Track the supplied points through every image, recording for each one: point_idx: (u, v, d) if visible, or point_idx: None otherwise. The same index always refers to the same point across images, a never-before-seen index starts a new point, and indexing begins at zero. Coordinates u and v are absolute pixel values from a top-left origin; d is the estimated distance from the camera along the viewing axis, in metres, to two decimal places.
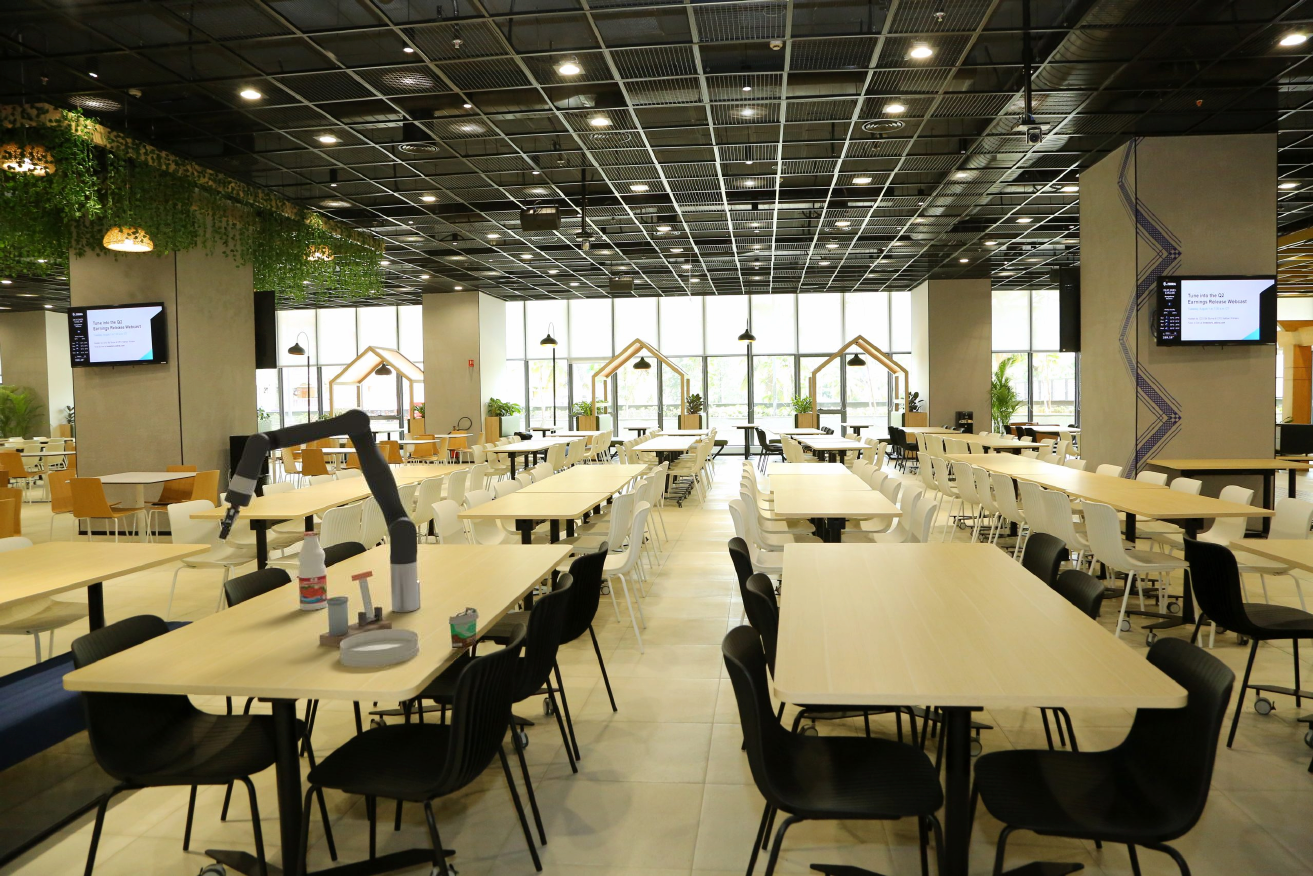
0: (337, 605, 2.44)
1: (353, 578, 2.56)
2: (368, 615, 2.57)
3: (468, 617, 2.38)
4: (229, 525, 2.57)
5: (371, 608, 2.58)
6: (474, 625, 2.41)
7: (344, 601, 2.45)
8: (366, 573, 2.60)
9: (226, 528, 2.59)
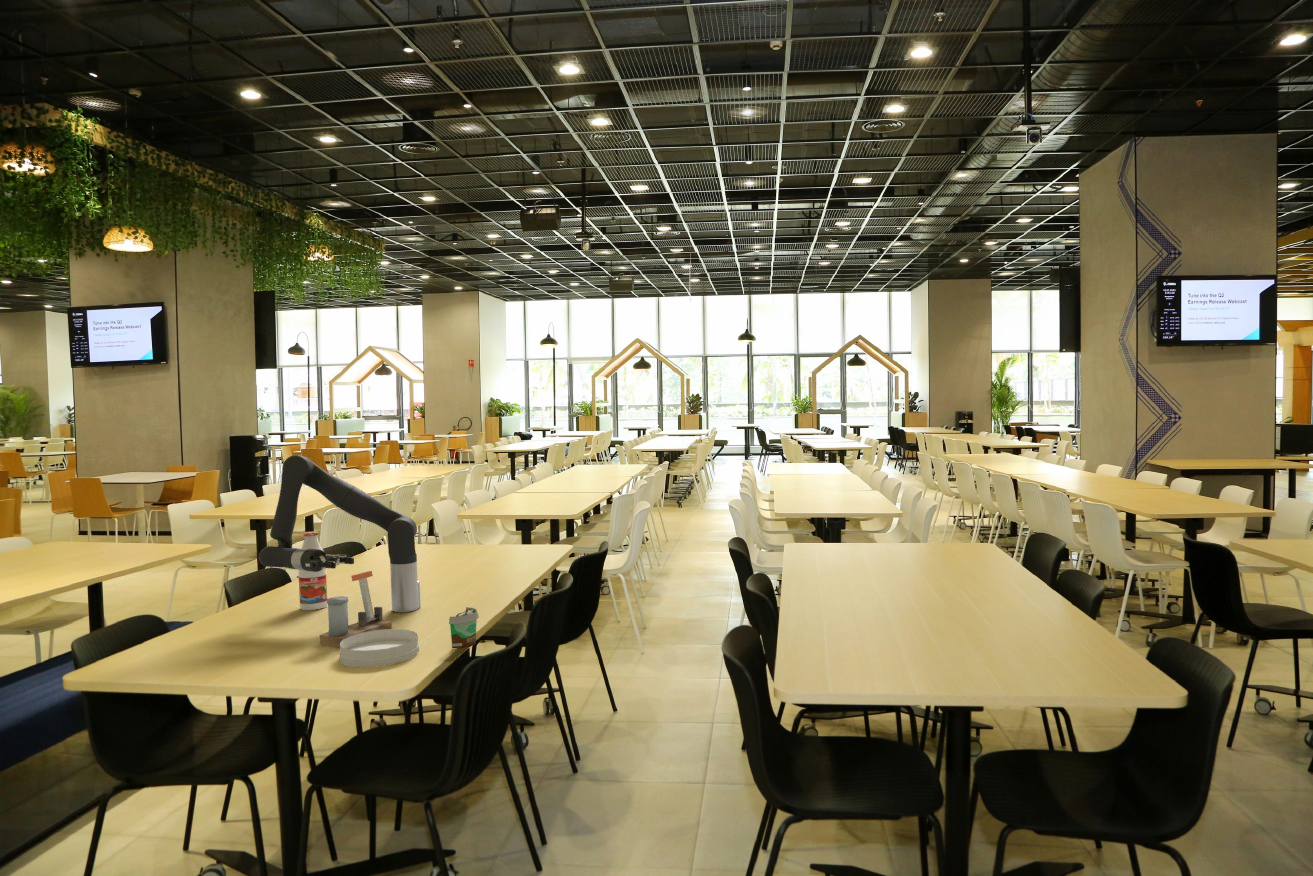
0: (337, 605, 2.44)
1: (353, 578, 2.56)
2: (368, 615, 2.57)
3: (468, 617, 2.38)
4: (316, 563, 2.58)
5: (371, 608, 2.58)
6: (474, 625, 2.41)
7: (344, 601, 2.45)
8: (366, 573, 2.60)
9: (323, 564, 2.59)
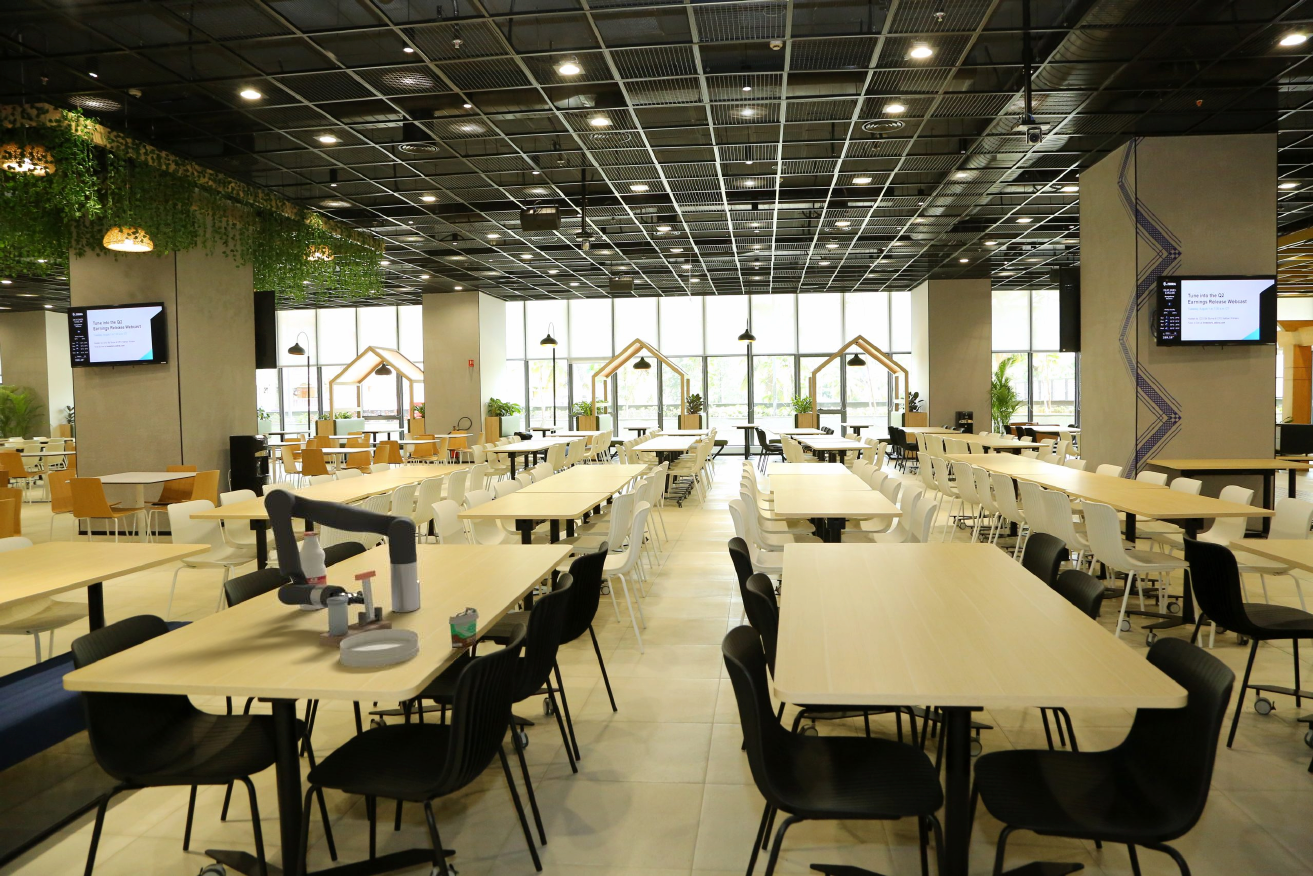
0: (337, 605, 2.43)
1: (356, 578, 2.55)
2: (368, 615, 2.57)
3: (468, 617, 2.38)
4: None
5: (372, 608, 2.58)
6: (474, 625, 2.41)
7: (344, 601, 2.45)
8: (369, 573, 2.59)
9: (354, 600, 2.59)
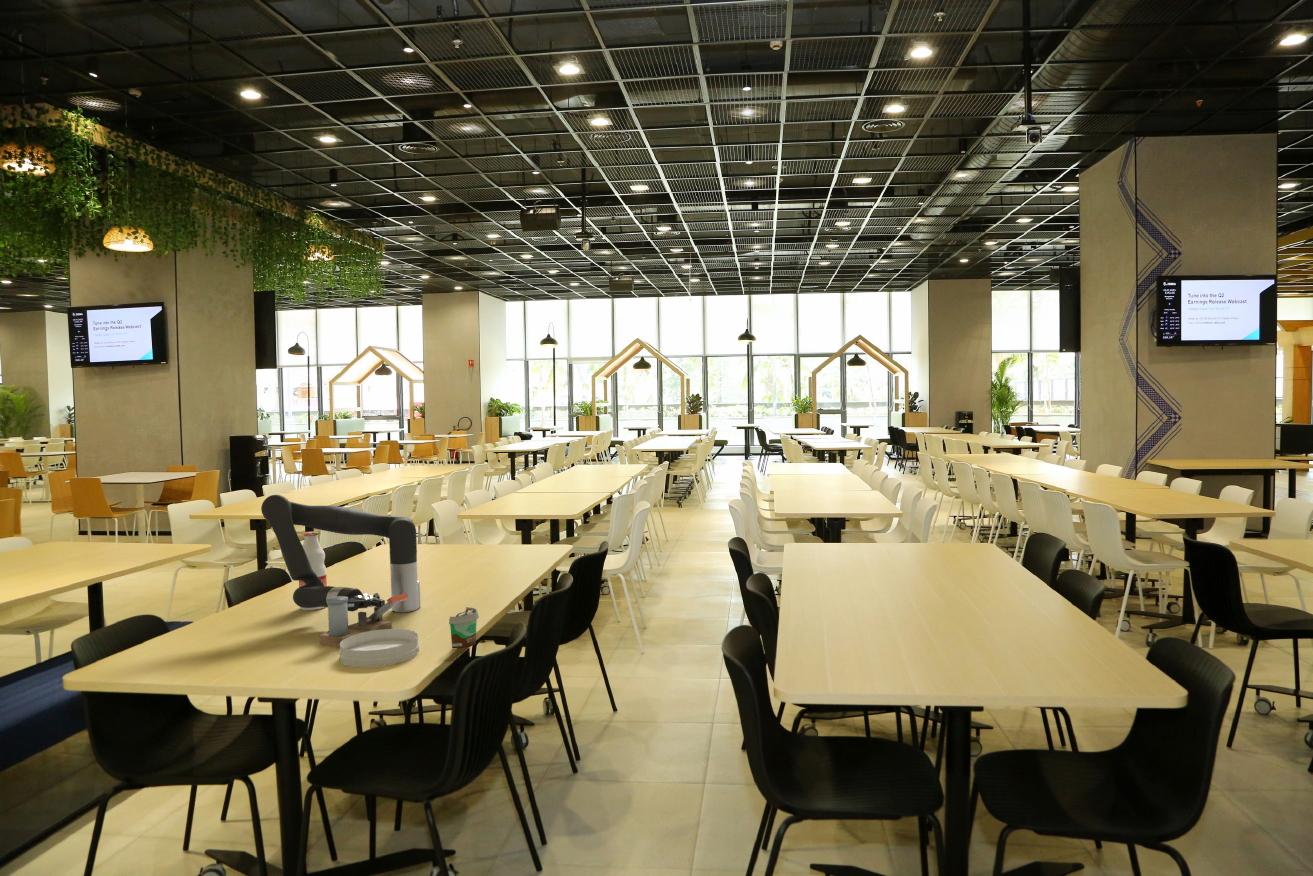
0: (337, 605, 2.44)
1: (389, 601, 2.49)
2: (371, 619, 2.57)
3: (468, 617, 2.38)
4: (363, 602, 2.54)
5: (379, 616, 2.57)
6: (474, 625, 2.41)
7: (344, 601, 2.45)
8: (402, 599, 2.53)
9: (370, 603, 2.55)
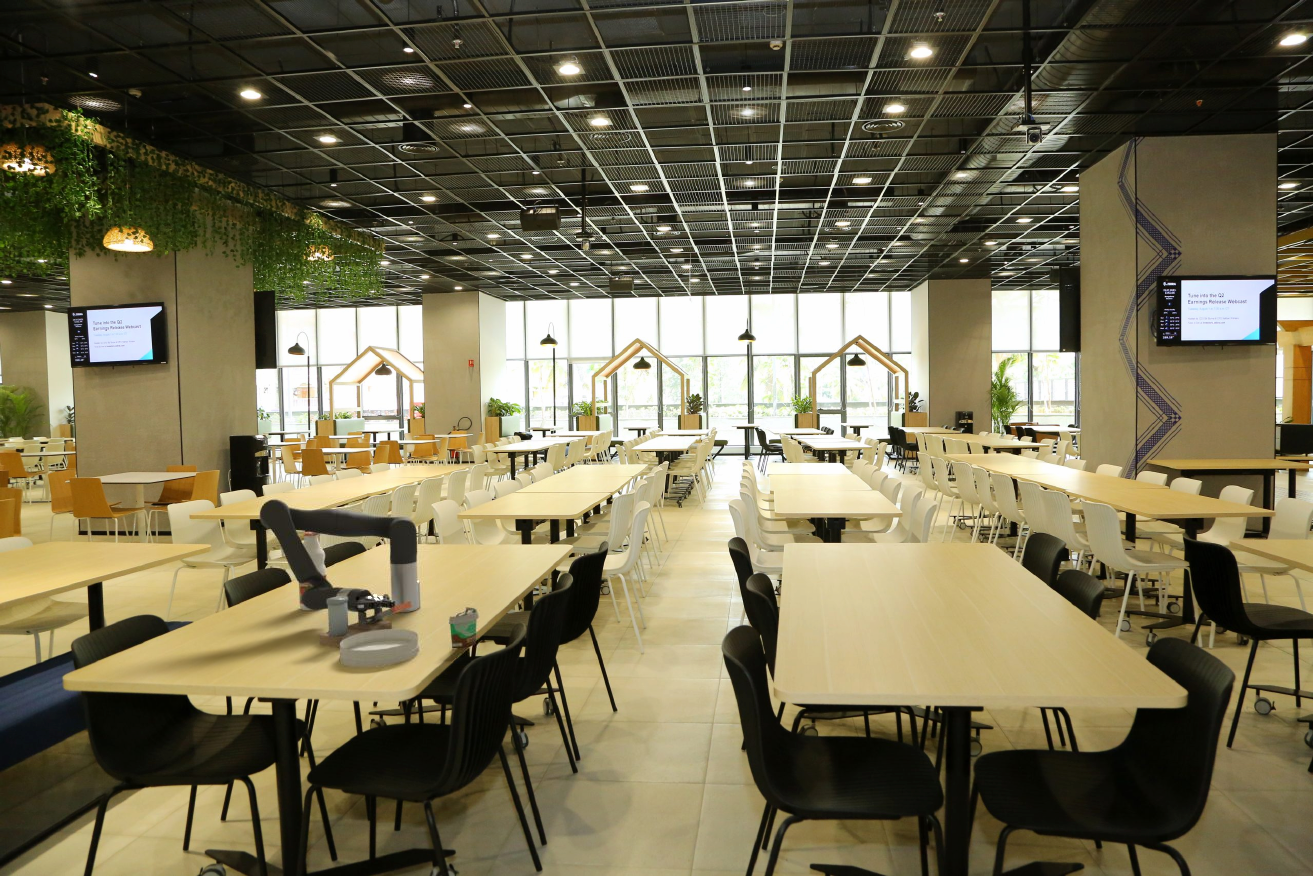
0: (337, 605, 2.43)
1: (392, 609, 2.49)
2: (372, 620, 2.57)
3: (468, 617, 2.38)
4: (373, 603, 2.53)
5: None
6: (474, 625, 2.41)
7: (344, 601, 2.45)
8: (405, 608, 2.53)
9: (381, 604, 2.54)
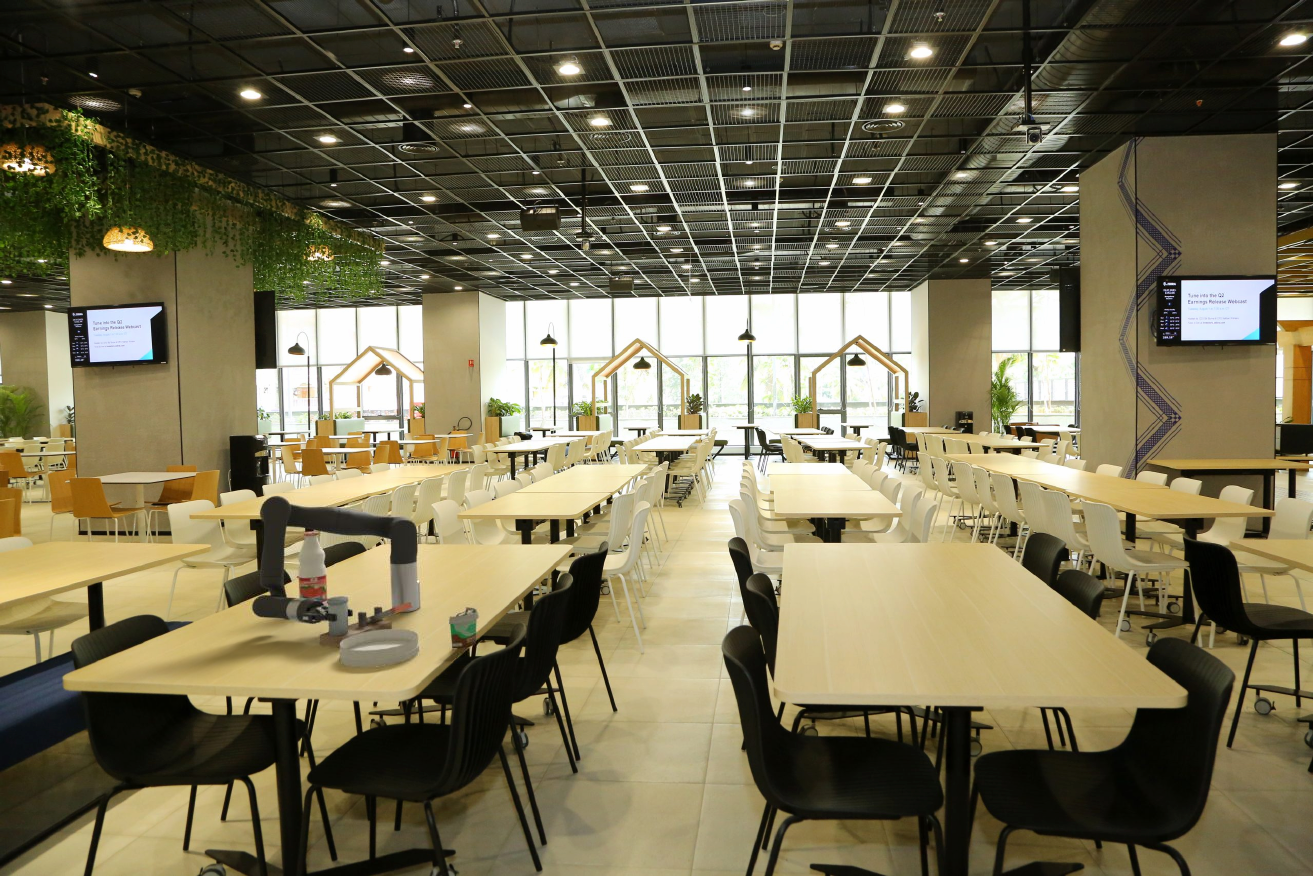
0: (337, 605, 2.43)
1: (393, 610, 2.49)
2: (372, 620, 2.57)
3: (468, 617, 2.38)
4: (316, 616, 2.42)
5: None
6: (474, 625, 2.41)
7: (344, 601, 2.45)
8: None
9: (324, 617, 2.43)
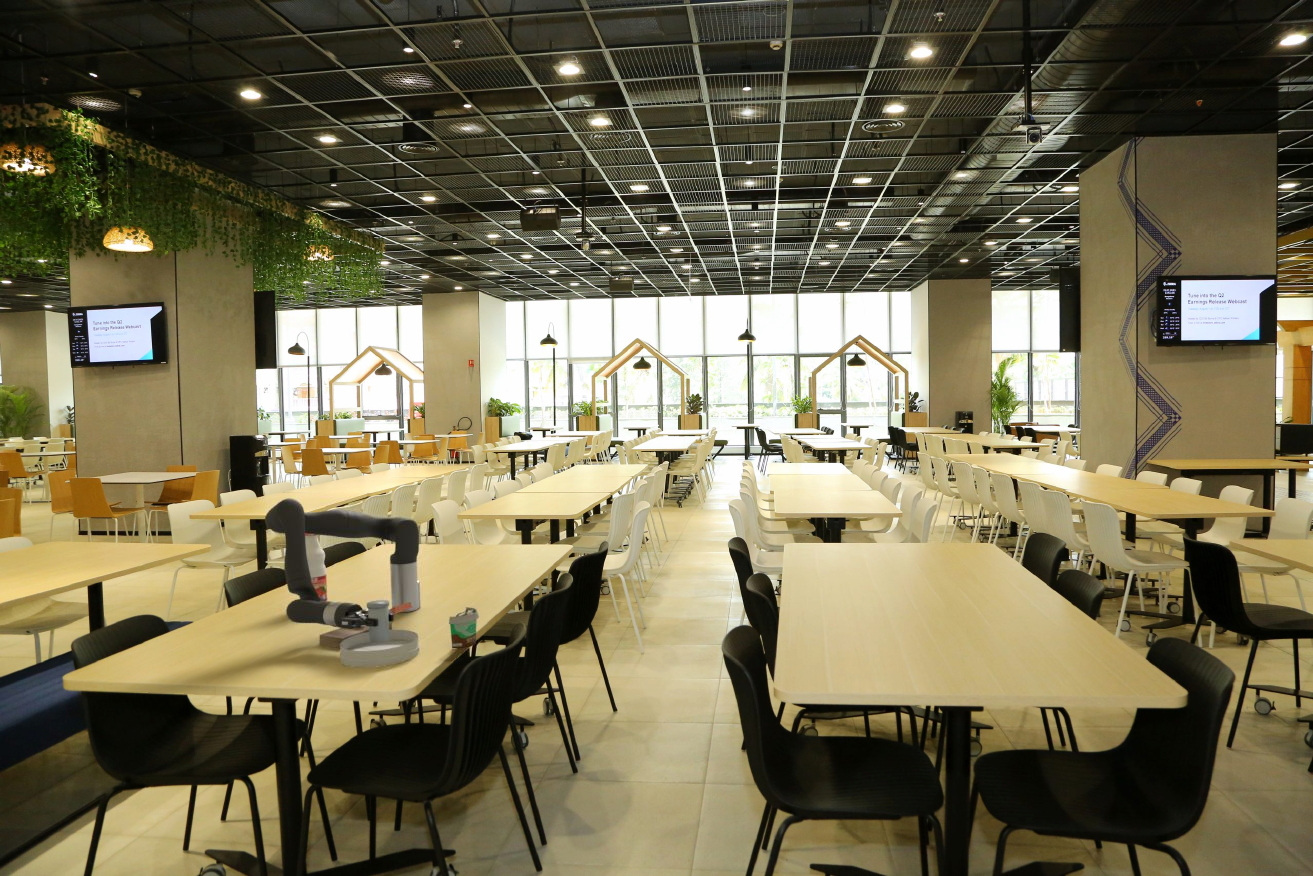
0: (378, 609, 2.31)
1: (393, 610, 2.49)
2: None
3: (468, 617, 2.38)
4: (356, 621, 2.29)
5: None
6: (474, 625, 2.41)
7: (385, 605, 2.32)
8: None
9: (364, 622, 2.30)
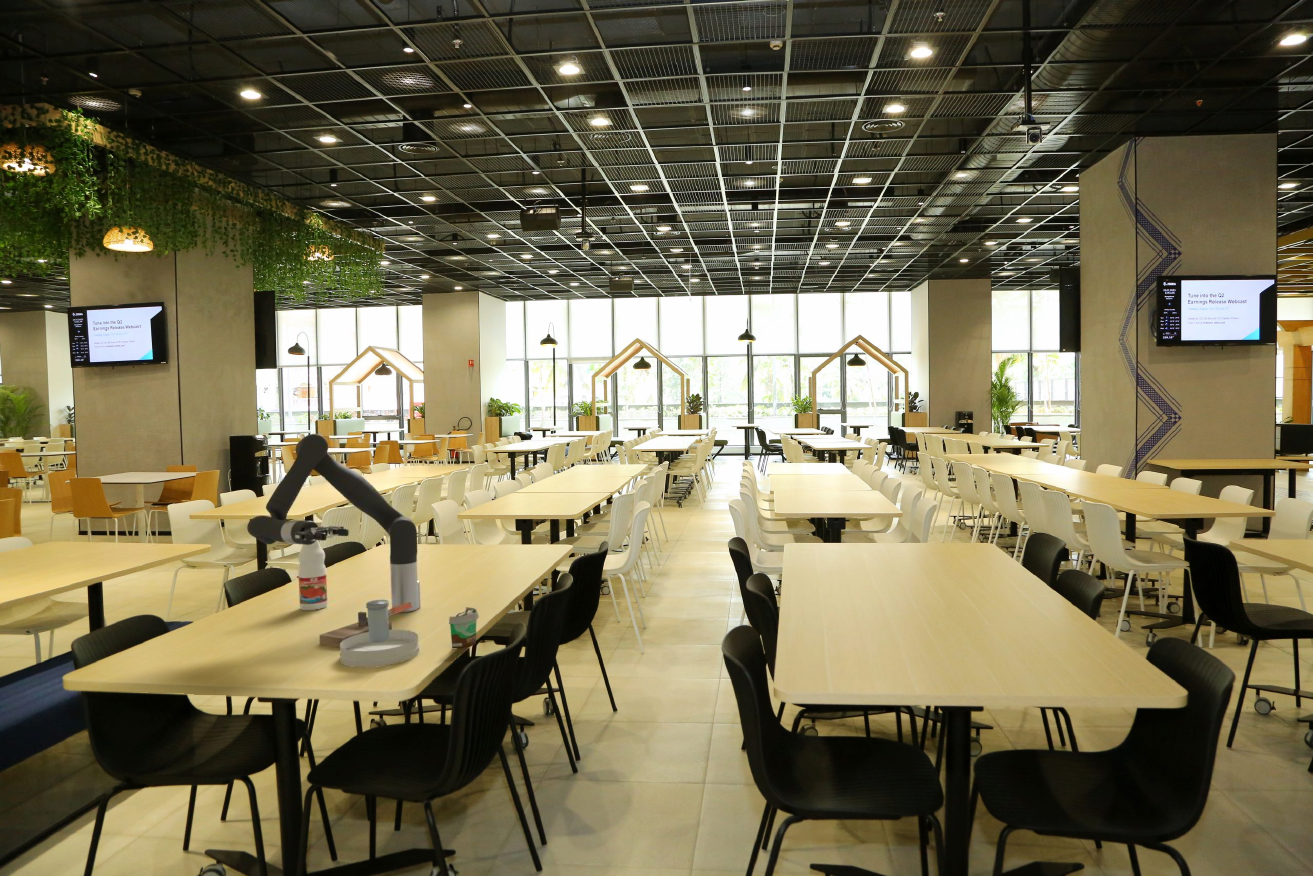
0: (379, 610, 2.30)
1: (393, 610, 2.49)
2: None
3: (468, 617, 2.38)
4: (305, 535, 2.41)
5: None
6: (474, 625, 2.41)
7: (385, 605, 2.31)
8: None
9: (313, 536, 2.42)
